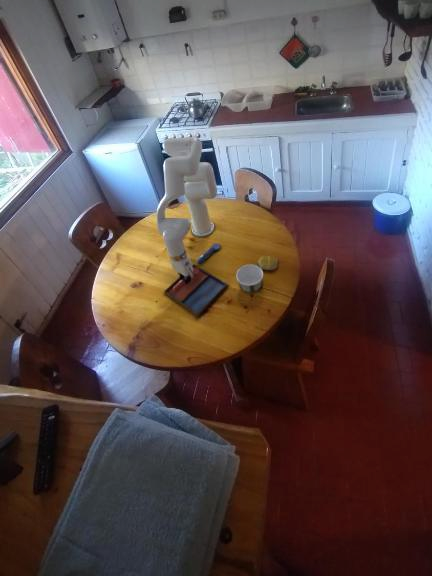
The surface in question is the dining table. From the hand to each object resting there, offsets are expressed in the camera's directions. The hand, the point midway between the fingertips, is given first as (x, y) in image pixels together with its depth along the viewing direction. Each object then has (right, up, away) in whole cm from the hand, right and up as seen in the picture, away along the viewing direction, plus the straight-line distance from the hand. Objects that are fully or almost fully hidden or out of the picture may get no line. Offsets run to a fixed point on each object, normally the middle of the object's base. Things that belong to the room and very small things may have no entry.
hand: (186, 280), depth 161 cm
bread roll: (+39, +7, +4) cm, 40 cm away
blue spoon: (+10, +10, +15) cm, 21 cm away
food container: (+30, -1, -3) cm, 30 cm away
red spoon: (0, 0, 0) cm, 0 cm away
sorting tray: (+5, -4, -1) cm, 6 cm away
